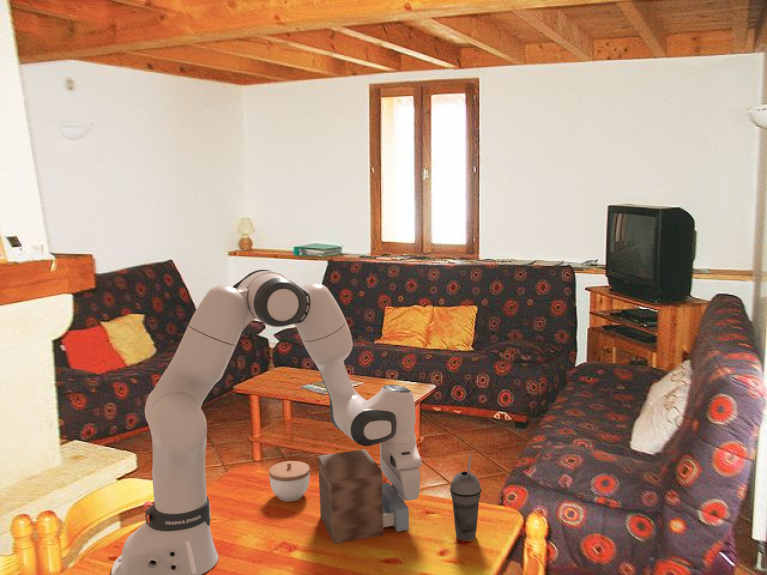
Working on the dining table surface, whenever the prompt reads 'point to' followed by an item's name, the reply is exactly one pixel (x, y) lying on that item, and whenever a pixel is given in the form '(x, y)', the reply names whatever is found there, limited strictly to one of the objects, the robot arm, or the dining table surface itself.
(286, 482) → the lidded jar
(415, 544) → the dining table surface
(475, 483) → the beverage cup
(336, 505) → the walnut box
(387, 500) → the drawer
